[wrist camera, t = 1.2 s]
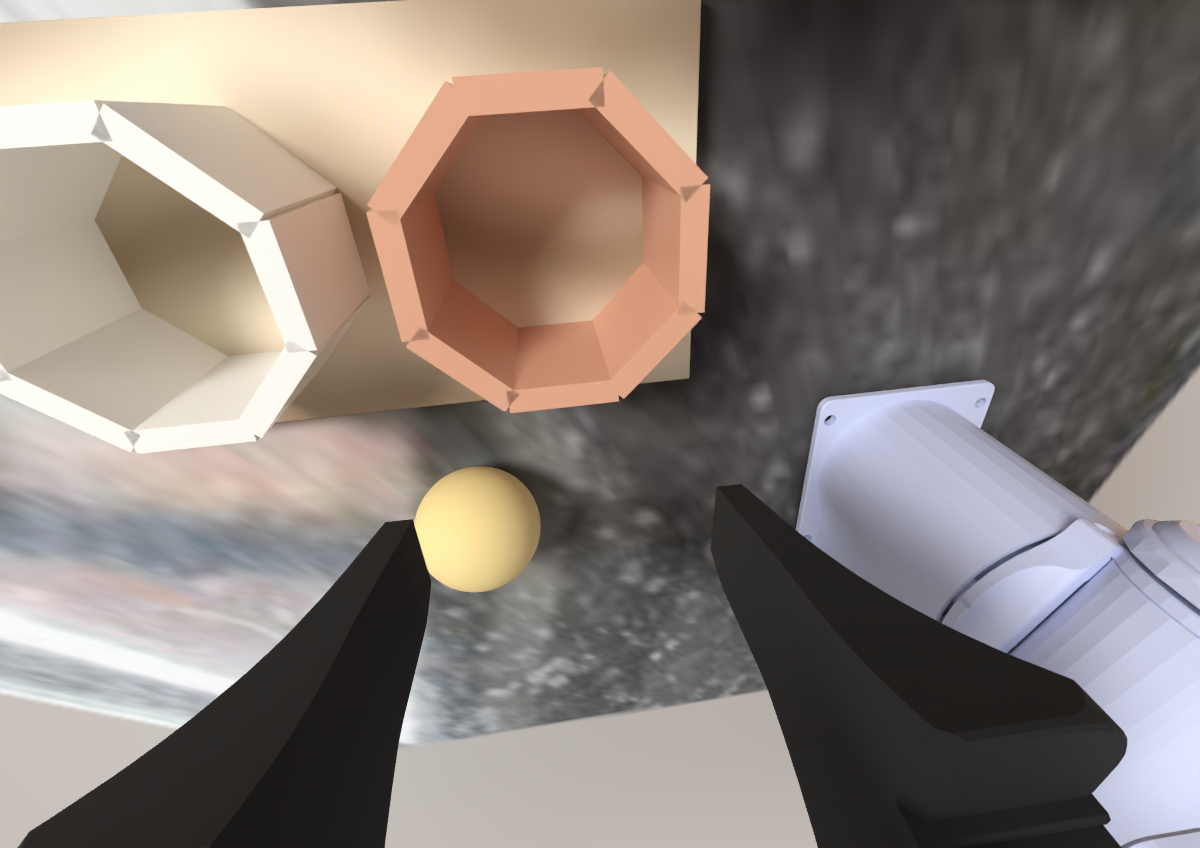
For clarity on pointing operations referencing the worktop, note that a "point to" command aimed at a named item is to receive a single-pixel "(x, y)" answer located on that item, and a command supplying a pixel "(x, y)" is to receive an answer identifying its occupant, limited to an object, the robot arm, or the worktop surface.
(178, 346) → the tube white
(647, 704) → the worktop surface
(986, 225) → the worktop surface
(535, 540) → the ball
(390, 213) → the terracotta octagonal bowl
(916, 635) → the robot arm
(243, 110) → the rack board
